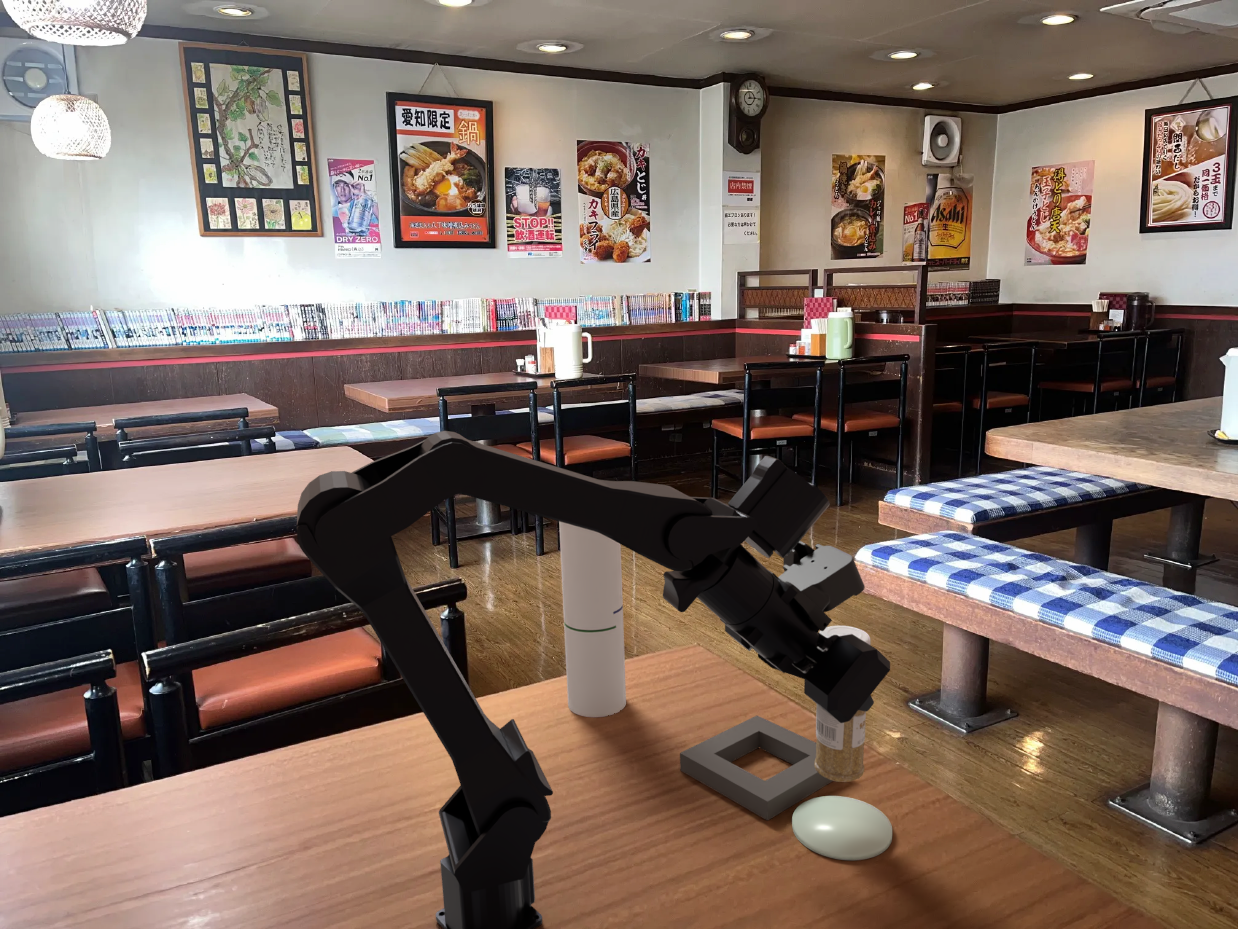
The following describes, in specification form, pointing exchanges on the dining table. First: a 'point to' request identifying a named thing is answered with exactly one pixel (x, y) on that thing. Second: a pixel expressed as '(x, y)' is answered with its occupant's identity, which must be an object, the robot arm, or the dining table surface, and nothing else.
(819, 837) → the coaster
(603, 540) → the cylindrical container
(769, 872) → the dining table surface
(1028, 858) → the dining table surface
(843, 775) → the sprinkles bottle
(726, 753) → the holder
